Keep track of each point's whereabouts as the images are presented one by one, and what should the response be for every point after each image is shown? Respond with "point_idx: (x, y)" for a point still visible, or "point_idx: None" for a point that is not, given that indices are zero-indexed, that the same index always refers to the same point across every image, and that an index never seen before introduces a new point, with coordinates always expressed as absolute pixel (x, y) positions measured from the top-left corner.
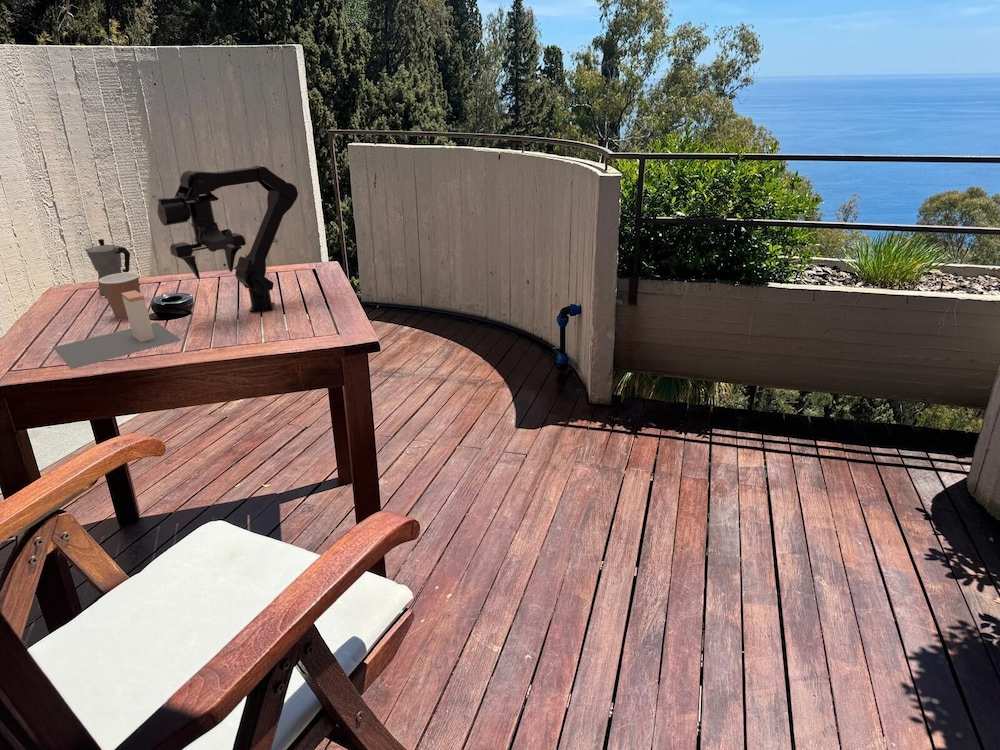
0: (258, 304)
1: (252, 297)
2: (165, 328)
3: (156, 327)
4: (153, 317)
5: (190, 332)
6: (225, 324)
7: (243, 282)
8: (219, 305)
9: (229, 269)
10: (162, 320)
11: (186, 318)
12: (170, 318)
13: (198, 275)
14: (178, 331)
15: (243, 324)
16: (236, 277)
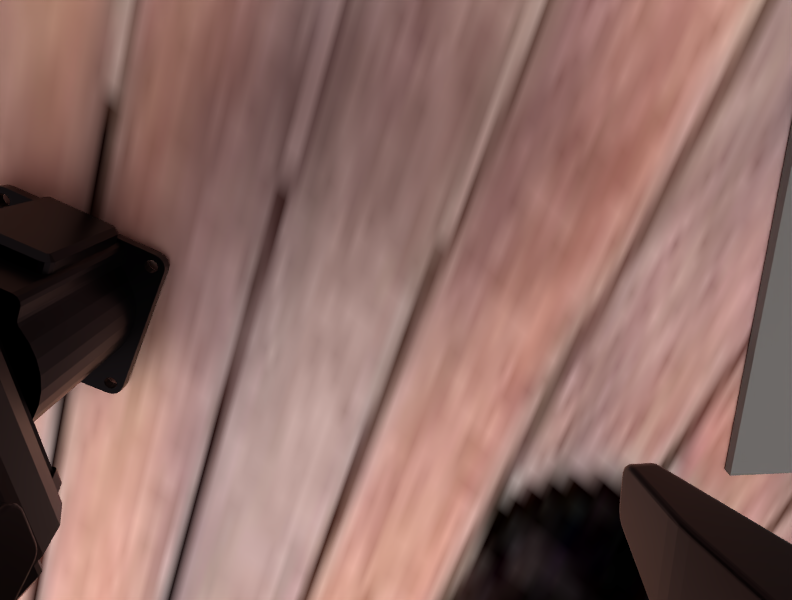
0: (61, 225)
1: (63, 306)
2: (761, 321)
3: (787, 380)
4: None
5: (670, 134)
6: (402, 126)
7: (3, 377)
8: (309, 540)
9: (7, 573)
10: None
11: (556, 444)
12: None
13: (681, 500)
14: (715, 223)
15: (286, 11)
16: (45, 541)
